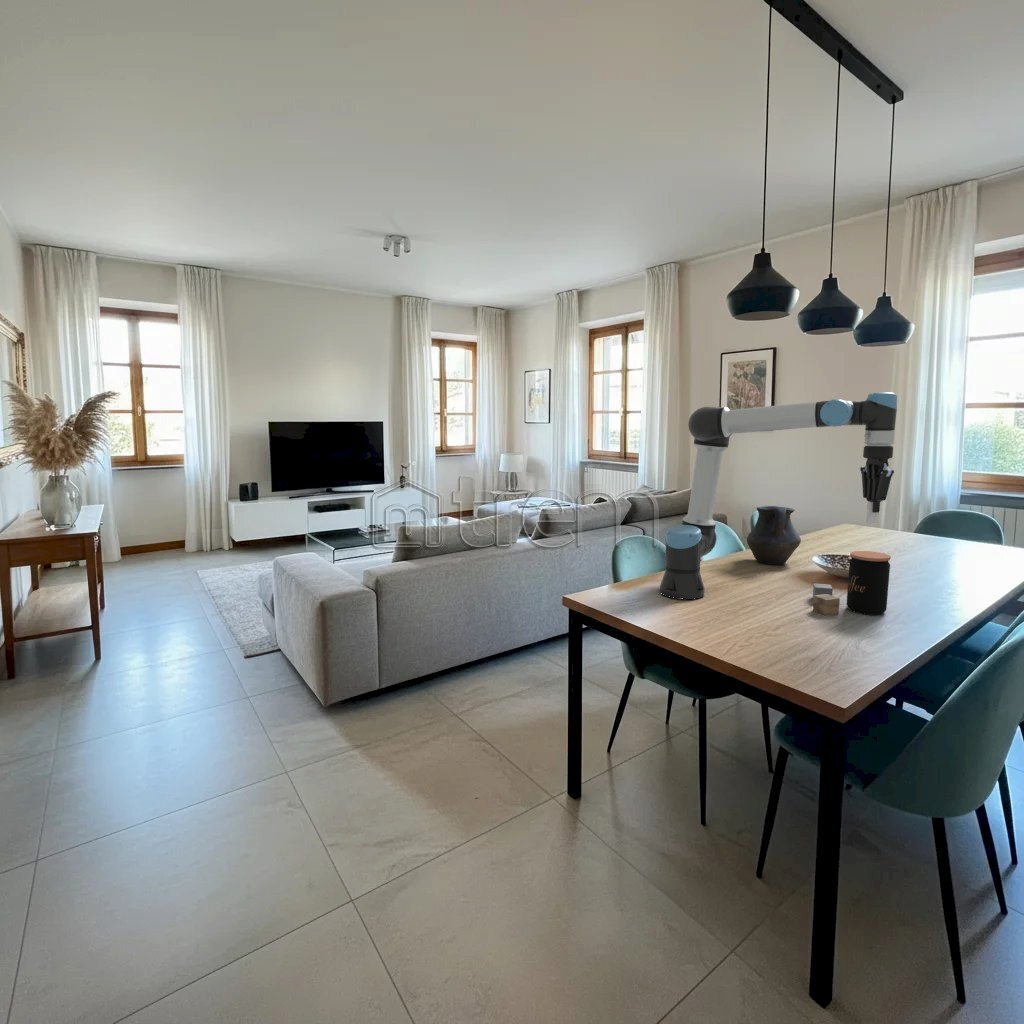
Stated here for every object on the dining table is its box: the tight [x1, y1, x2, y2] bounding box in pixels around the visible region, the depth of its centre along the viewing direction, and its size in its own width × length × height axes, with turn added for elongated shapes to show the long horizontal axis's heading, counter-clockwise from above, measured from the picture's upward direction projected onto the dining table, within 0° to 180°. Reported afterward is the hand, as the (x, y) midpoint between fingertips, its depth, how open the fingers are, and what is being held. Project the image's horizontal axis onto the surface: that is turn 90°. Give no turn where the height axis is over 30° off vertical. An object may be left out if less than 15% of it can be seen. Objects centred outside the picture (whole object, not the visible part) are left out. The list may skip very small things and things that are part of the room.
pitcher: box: [746, 505, 802, 566], centre depth 240 cm, size 21×22×25 cm
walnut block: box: [812, 594, 841, 616], centre depth 178 cm, size 5×5×5 cm
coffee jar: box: [846, 550, 892, 616], centre depth 178 cm, size 11×11×18 cm
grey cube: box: [812, 583, 834, 600], centre depth 190 cm, size 5×5×5 cm
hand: (872, 522), depth 175 cm, fingers closed
